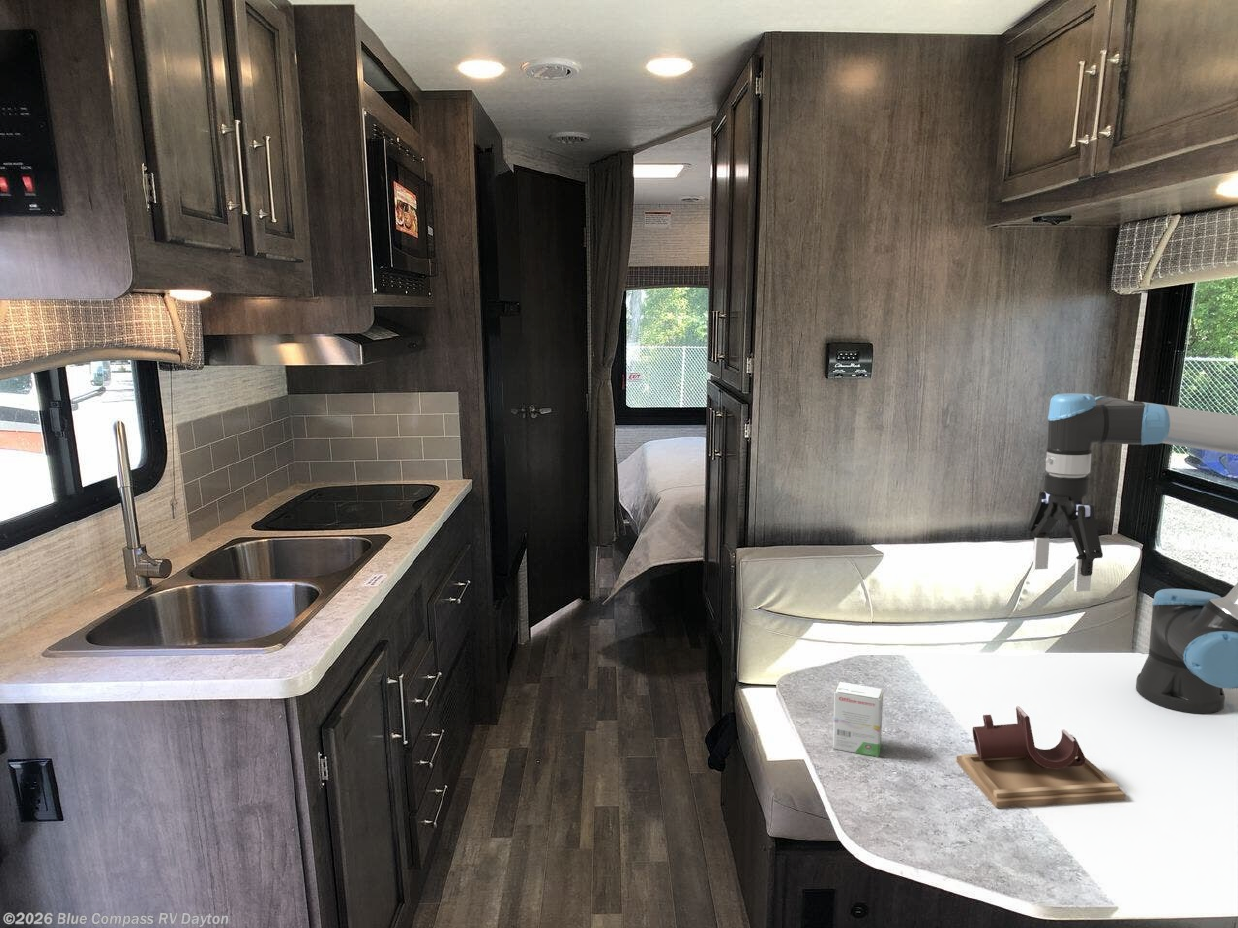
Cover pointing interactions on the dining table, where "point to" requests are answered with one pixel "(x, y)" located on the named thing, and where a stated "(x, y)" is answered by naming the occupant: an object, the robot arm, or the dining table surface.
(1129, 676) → the dining table surface
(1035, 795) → the side panel
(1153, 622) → the robot arm
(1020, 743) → the bracket
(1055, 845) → the dining table surface
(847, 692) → the ink box
